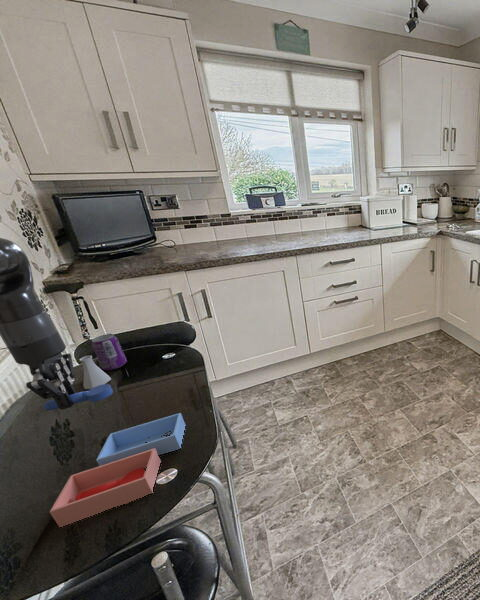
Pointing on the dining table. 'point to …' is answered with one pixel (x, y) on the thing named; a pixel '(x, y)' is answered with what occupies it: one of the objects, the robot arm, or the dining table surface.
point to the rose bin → (73, 510)
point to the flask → (93, 373)
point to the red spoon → (113, 484)
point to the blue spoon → (84, 396)
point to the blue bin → (144, 439)
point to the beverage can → (108, 351)
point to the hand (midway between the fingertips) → (69, 403)
